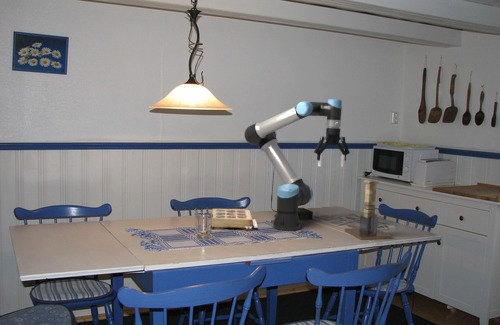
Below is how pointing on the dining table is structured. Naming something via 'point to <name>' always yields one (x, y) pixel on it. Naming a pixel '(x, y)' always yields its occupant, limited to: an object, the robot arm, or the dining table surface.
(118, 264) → the dining table surface
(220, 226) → the beige slotted box
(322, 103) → the robot arm
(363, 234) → the stand
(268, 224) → the dining table surface
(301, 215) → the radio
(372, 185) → the column
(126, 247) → the dining table surface
